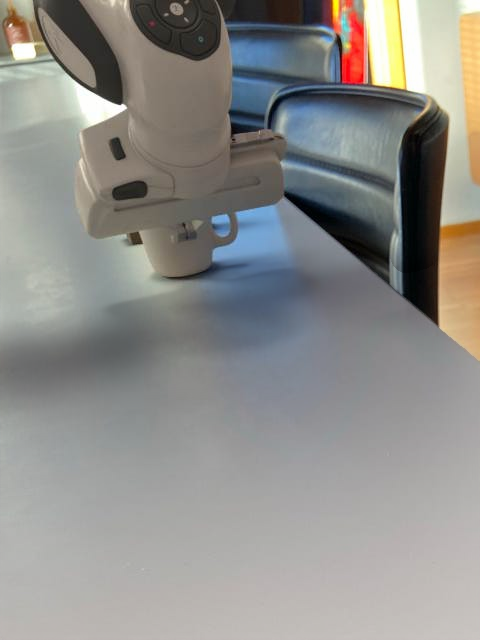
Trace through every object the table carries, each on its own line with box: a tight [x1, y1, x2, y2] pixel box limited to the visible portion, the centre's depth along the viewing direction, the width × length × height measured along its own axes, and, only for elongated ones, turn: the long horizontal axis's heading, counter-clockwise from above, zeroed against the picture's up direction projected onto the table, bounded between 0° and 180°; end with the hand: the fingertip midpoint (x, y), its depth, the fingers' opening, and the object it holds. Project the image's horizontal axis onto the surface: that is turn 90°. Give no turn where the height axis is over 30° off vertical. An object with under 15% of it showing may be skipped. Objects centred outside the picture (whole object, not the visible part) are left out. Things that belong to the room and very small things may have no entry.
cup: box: [139, 212, 239, 278], centre depth 110 cm, size 11×8×8 cm
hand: (184, 235), depth 107 cm, fingers closed, pressing on cup
